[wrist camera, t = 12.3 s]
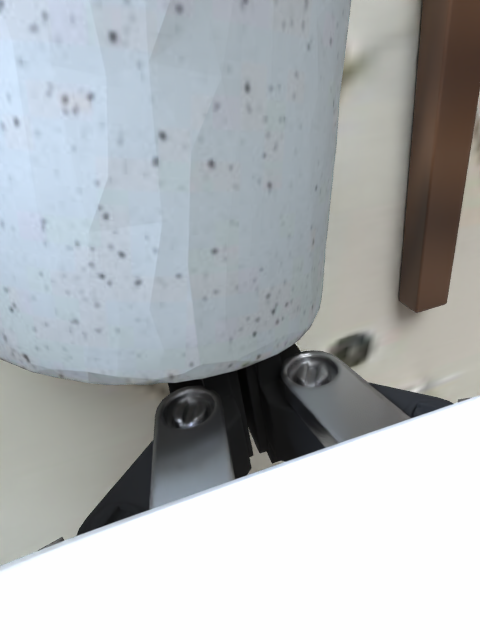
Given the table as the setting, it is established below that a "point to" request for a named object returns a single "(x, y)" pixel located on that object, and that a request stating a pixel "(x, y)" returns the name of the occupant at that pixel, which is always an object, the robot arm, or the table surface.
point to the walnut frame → (439, 147)
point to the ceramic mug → (164, 182)
